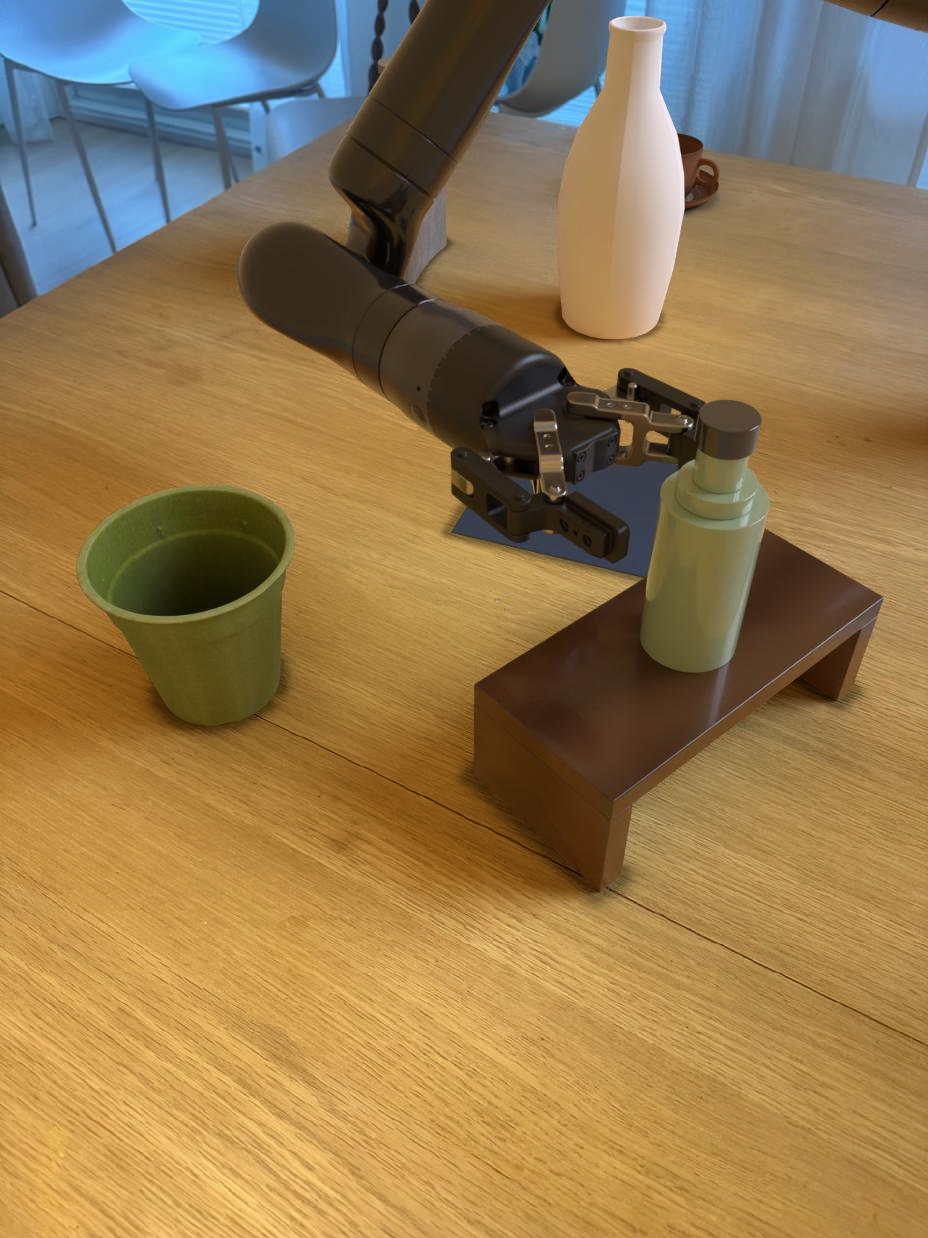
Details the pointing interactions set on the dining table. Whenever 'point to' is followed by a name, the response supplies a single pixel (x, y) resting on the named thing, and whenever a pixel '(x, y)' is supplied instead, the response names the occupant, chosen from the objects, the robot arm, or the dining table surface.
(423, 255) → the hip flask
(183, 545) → the plant pot
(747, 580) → the spice bottle
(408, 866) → the dining table surface
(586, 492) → the mat
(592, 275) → the bottle
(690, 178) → the cup and saucer
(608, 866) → the shelf
